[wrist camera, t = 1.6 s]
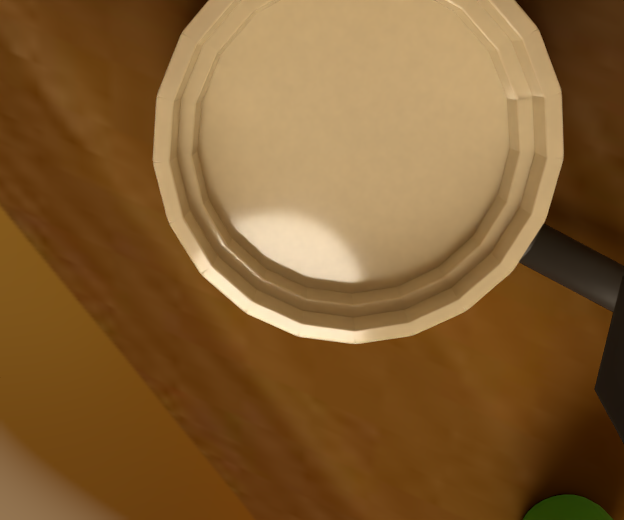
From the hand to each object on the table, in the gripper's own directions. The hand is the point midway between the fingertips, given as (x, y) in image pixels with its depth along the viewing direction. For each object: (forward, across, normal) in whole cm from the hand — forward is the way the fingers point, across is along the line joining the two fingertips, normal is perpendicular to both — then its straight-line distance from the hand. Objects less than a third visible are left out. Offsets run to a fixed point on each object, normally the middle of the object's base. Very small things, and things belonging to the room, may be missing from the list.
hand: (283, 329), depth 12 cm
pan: (+16, +1, -1) cm, 16 cm away
